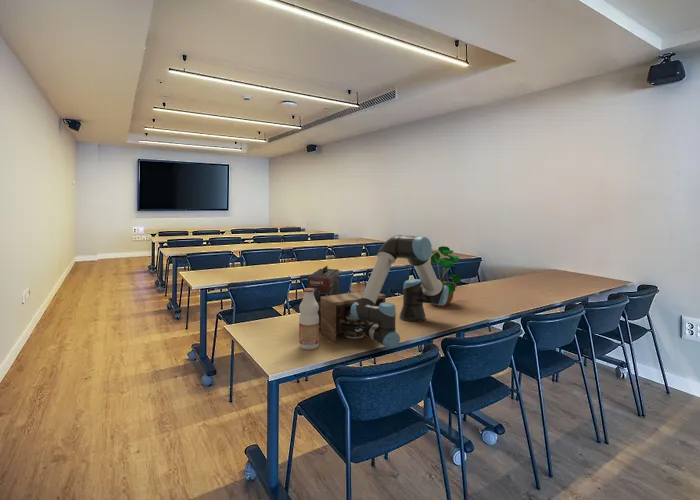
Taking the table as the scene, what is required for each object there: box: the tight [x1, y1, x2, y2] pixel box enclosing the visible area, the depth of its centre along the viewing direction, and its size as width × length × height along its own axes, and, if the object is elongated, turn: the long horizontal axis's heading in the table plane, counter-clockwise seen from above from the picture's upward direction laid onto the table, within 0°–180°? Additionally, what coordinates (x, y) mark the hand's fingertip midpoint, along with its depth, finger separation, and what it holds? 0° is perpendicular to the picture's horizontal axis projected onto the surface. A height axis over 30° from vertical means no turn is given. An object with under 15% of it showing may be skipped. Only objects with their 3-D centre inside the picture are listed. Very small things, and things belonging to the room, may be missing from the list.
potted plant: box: [430, 246, 462, 307], centre depth 259 cm, size 31×29×40 cm
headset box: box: [306, 265, 340, 332], centre depth 216 cm, size 24×13×33 cm, turn 168°
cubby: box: [320, 290, 386, 345], centre depth 200 cm, size 31×14×20 cm, turn 121°
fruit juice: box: [298, 287, 320, 351], centre depth 182 cm, size 9×9×28 cm
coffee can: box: [344, 306, 365, 339], centre depth 199 cm, size 10×10×14 cm
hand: (351, 319), depth 202 cm, fingers open, 13 cm apart
